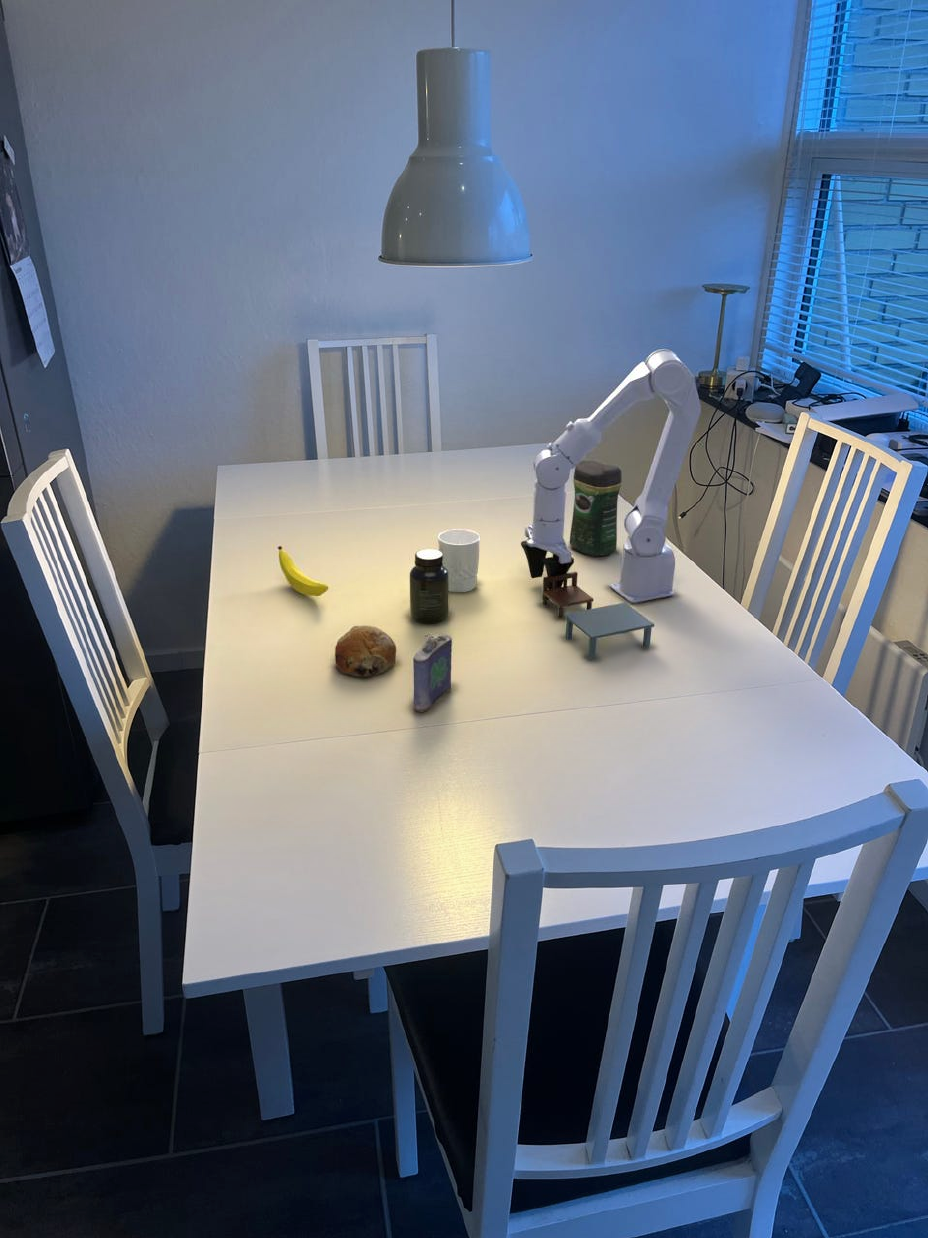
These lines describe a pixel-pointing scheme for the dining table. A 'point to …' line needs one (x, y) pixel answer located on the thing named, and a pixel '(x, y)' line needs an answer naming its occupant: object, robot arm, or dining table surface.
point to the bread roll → (365, 651)
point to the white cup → (460, 558)
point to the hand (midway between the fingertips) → (545, 584)
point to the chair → (565, 593)
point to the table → (608, 624)
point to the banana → (299, 577)
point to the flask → (432, 671)
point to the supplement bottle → (429, 588)
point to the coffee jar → (595, 507)
